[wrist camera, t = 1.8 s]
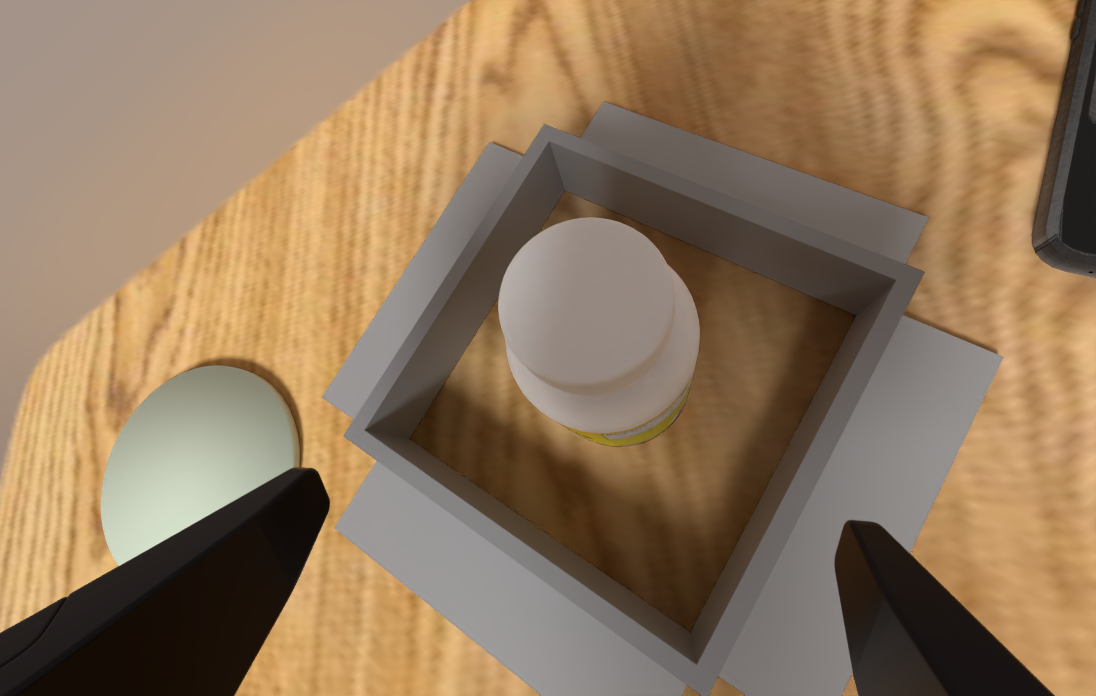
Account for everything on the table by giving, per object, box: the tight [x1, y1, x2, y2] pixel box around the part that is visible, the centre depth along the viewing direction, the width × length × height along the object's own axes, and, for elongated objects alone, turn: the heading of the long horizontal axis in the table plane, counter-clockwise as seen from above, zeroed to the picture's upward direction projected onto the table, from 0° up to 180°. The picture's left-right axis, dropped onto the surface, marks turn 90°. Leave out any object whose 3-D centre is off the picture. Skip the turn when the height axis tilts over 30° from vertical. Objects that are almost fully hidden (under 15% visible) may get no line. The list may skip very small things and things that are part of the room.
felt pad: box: [101, 365, 300, 566], centre depth 23 cm, size 10×10×1 cm
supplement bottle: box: [498, 217, 700, 447], centre depth 16 cm, size 5×5×10 cm
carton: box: [322, 102, 1003, 696], centre depth 19 cm, size 22×22×4 cm
